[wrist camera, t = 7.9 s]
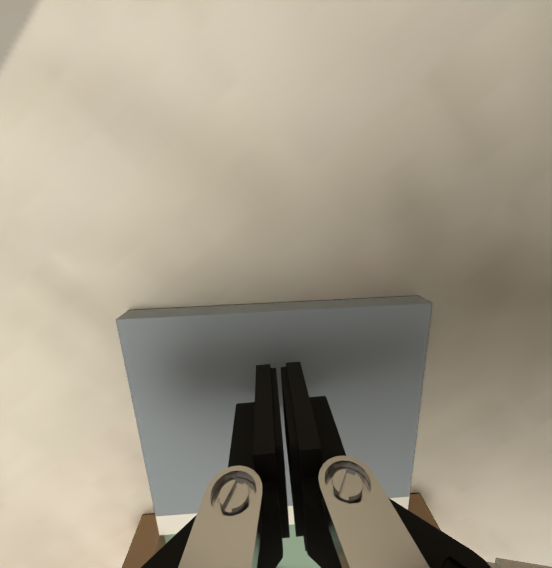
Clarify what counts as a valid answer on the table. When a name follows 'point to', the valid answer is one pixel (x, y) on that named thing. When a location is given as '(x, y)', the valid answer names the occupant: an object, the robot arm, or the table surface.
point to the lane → (241, 389)
